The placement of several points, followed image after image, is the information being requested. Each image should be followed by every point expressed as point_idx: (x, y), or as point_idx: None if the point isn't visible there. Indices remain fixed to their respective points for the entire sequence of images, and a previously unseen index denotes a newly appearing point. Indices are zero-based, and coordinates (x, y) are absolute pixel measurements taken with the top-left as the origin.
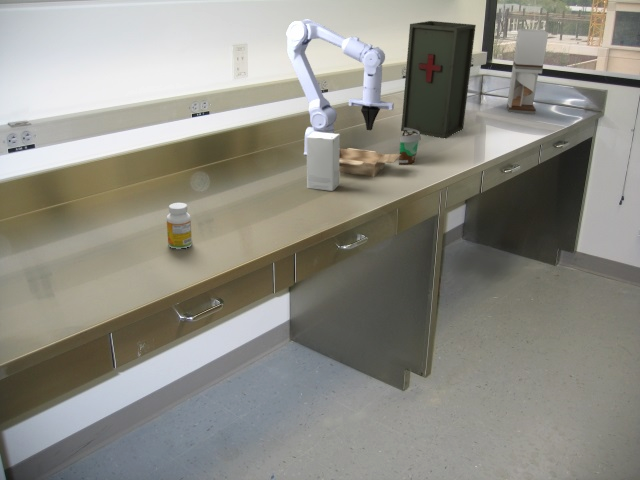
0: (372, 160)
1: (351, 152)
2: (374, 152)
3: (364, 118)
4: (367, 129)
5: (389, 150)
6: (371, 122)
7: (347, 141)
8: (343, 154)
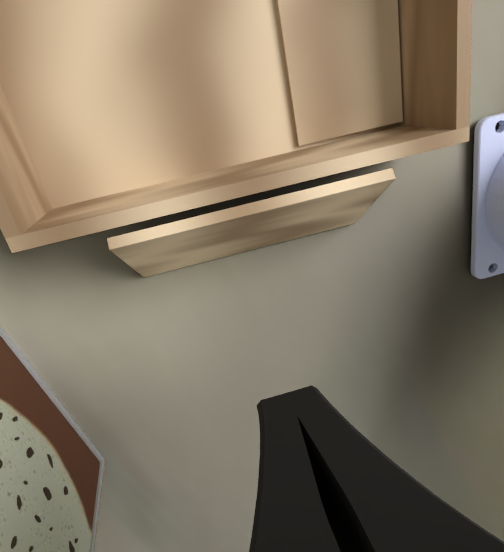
0: (136, 194)
1: (334, 155)
2: (130, 234)
3: (455, 512)
4: (304, 393)
5: (233, 503)
6: (264, 501)
7: (484, 473)
8: (391, 134)
